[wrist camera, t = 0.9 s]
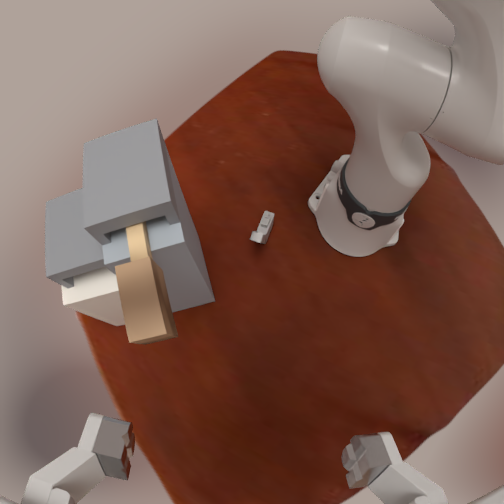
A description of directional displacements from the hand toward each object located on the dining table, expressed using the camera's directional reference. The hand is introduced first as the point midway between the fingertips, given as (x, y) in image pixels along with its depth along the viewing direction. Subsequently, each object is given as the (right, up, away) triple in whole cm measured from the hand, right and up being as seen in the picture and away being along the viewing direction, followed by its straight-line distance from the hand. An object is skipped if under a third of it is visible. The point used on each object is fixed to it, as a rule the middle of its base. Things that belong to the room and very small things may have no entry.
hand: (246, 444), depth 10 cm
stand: (-16, +2, +44) cm, 47 cm away
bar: (-10, +7, +18) cm, 22 cm away
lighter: (+2, +9, +47) cm, 48 cm away
